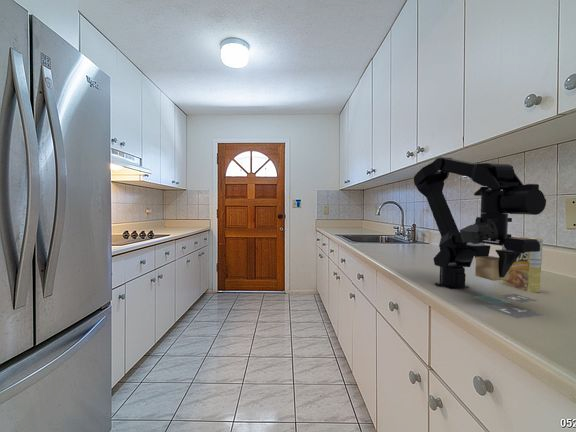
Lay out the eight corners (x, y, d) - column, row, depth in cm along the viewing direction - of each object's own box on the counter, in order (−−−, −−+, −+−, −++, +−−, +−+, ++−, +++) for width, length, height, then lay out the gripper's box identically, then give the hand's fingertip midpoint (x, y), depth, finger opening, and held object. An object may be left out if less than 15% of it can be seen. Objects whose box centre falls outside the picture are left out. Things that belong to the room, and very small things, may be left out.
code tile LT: (482, 307, 70) (482, 305, 70) (509, 305, 72) (509, 303, 72) (516, 320, 63) (516, 318, 63) (544, 317, 65) (544, 315, 64)
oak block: (475, 275, 77) (475, 256, 77) (490, 274, 78) (491, 256, 78) (492, 280, 72) (493, 260, 72) (508, 279, 73) (509, 259, 73)
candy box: (501, 284, 92) (503, 235, 91) (514, 284, 92) (516, 235, 91) (527, 293, 83) (529, 238, 82) (541, 292, 83) (543, 238, 83)
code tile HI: (497, 296, 79) (497, 295, 79) (515, 295, 80) (515, 293, 80) (520, 304, 73) (520, 302, 73) (538, 302, 75) (538, 300, 75)
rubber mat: (471, 298, 77) (471, 296, 77) (490, 296, 79) (490, 295, 79) (492, 305, 72) (492, 304, 72) (512, 304, 73) (512, 302, 73)
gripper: (439, 212, 82) (438, 268, 82) (504, 214, 64) (501, 286, 64) (472, 212, 84) (470, 266, 85) (543, 214, 66) (540, 283, 67)
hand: (491, 274), depth 75 cm, fingers closed on oak block, 5 cm apart
